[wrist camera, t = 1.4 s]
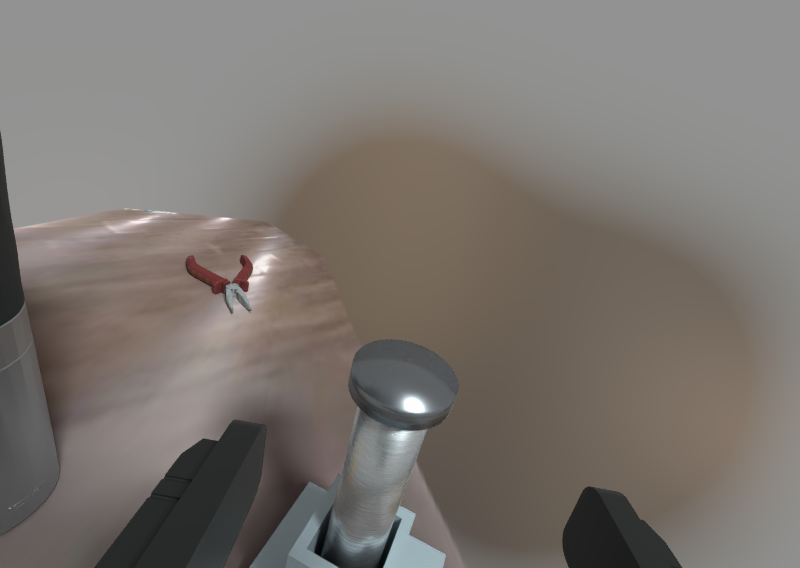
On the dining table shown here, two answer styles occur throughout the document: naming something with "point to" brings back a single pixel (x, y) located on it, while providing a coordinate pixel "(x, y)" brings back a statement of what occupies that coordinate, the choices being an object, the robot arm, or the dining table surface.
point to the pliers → (224, 281)
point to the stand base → (307, 526)
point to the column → (384, 444)
